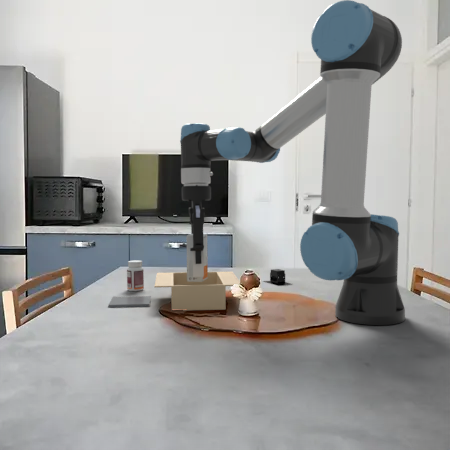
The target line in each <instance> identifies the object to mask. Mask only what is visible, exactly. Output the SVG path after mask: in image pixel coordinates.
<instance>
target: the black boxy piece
mask: <svg viewBox="0 0 450 450" xmlns="http://www.w3.org/2000/svg"><path fill="white" fill-rule="evenodd" d="M285 271H286V270H283V269H280V268H275V269H270V273H269V280H263V281H262V282H264V283H267V284H269V285H270V284H271V285H275V286H277V287H282V286H292V285H293V283H290V282H286V272H285Z"/></svg>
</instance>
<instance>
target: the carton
mask: <svg viewBox="0 0 450 450" xmlns="http://www.w3.org/2000/svg"><path fill="white" fill-rule="evenodd" d="M240 282H241V281H240V280H239V278H238V277H237V275H235V273H234V271H208V278H207V279H206V280H204V281H203V282H188V281H187V271H185V272H182V271H180V272H157V273H156V276H155V283H154V288H170V289H171V293H170V294H171V296H170V297H171V300H170V301H171V310H172V309H187V310H186V311H215V310H216V311H219V310H226V309H227V308H226V304H227V303H226V302H227V300H226V292H227V290H226V289H227V288H226V287H234V286H233V285H234V284H239V283H240Z"/></svg>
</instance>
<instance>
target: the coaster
mask: <svg viewBox="0 0 450 450" xmlns="http://www.w3.org/2000/svg"><path fill="white" fill-rule="evenodd" d="M151 301H152V296H151V295H141V296H140V295H137V296H112V298H111V300H110V301H109V303H108V306H107V307H108V308H129V307H131V308H134V307H136V308H137V307H141V308H142V307H150V305H151Z"/></svg>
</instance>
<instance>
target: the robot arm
mask: <svg viewBox="0 0 450 450" xmlns="http://www.w3.org/2000/svg"><path fill="white" fill-rule="evenodd" d="M310 38H311V40H310V42H311V47H312V50H313V51H314V53H315V55H316V56H317V57H318V59H320V71H319V72H320V73H319V76H320V77H319V78H318V79H316V80H315V81H314V82H313V83H311V84H310V85H309V86H308V87H307V88H306V89H304V90H303V91H302V92H300V93H299V94H298V95H297V96H295V98H294V99H292V100H291V101H290V102H289V103H287V104H286V105H284V107H282V108H281V109H280V110H279V111H278V112H277V113H276V112H275V114H274V115H273V116H272V117H270V118H269V119H268V120H267V121H265V122H264V123H263V124H261V125H260V126H259V127H258V128H256V129H255V130H253V131H247V130H245V128H243V127H240V126H239V127H238V126H236V127H235V126H234V127H232V126H228V127H225V128H218V129H213V130H211V128H210V127H211V126H210V125H208V124H207V123H197V122H195V123H185V124H183V125H182V126H181V128H180V140H179V142H180V143H179V144H180V162H181V165H180V166H181V167H180V182H181V184H182V185H183V186H182V187H181V200H182V201H184V202H186V201H187V202H190V201H191V207H188V215H189V224H190V226H191V227H190V231H191V232H190V234H193V248H190V251H193V277H204V254H203V249H204V245H203V234H204V224H205V214H206V213H205V212H206V210H205V207H202V202H203V201H211V199H212V187H211V186H210V185H209V184H211V182H212V180H211V177H212V176H213V175H214V173H213V171H211V168H212V167H211V165H212V164H211V162H214V161H234V162H235V161H237V162H251V163H258V164H259V163H260V164H263V163H271V162H273V161H275V160H276V159H277V158H278V156H279V154H280V151H281V148H282V147H283V146H284V145H286V144H287V143H289V142H290V141H292V140H293V139H295V137H296V136H298V135H300V134H301V133H302V132H304V131H305V130H306V129H308V128H309V127H310V126H312V125H313V124H314V123H315V122H317V121H318V120H319V119H320V118H322V117H323V116H325V117H324V118H325V119H324V120H325V121H324V122H325V123H324V140H323V155H322V158H323V159H322V175H321V177H322V178H321V192H320V193H321V195H320V203H319V205H318V206H317V207H316V208H315V209H313V211H312V217H311V219H312V220H311V225H310V226H309V227H308V228H307V229H306V231H304V232H303V234H302V236H301V239H300V244H299V245H300V246H299V248H300V249H299V250H300V256H301V259H302V261H303V264H304V265H305V266H306V268H308V270H309V271H310V272H311V273H312V275H314V276H316V277H317V278H319V279H322V280H324V281H343V284H342V287H341V288H340V289H341V290H340V292H339V295H338V298H337V301H336V304H335V309H334V310H335V312H334V313H335V315H336V316H335V317H336V318H337V317H338V318H337V319H339V320H341V321H343V322H348V323H353V324H359V325H365V326H366V325H367V326H368V325H369V326H389V325H397V324H401V323H403V322H405V320H406V309H405V306H404V302H403V298H402V296H401V292H400V289H399V286H398V266H399V265H398V264H399V263H398V261H399V259H398V258H399V236H400V232H399V222H398V220H397V219H396V218H395V217H393V216H389V215H381V214H371V213H370V212H369V211H368V209H367V208H366V207H365V189H366V176H367V173H366V172H367V162H368V161H367V159H368V147H369V145H368V144H369V129H370V113H371V98H372V86H373V85H374V84H375V83H377V82H378V81H379V80H381V78H383V77H384V76H385V75H386V74H387V73H388V72H389V71H390V70H391V69H392V68H393V67H394V66H395V64H396V63H397V61H398V59H399V57H400V55H401V52H402V46H403V39H402V34H401V31H400V29H399V27H398V25H397V24H396V23H395V22H394V21H393V20H392V19H391V18H389V17H387V16H385V15H382V14H381V13H379V12H377V11H374V10H373V9H371V8H370V7H369V6H368V5H367V4H364V3H361V2H357V1H355V0H340V1H337V2H334V3H332V4H330V5H328V6H327V8H325V9H324V11H323V12H322V13H321V15H319V16H318V17H317V19H316V21H315V23H314V25H313V28H312V31H311V35H310Z"/></svg>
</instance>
